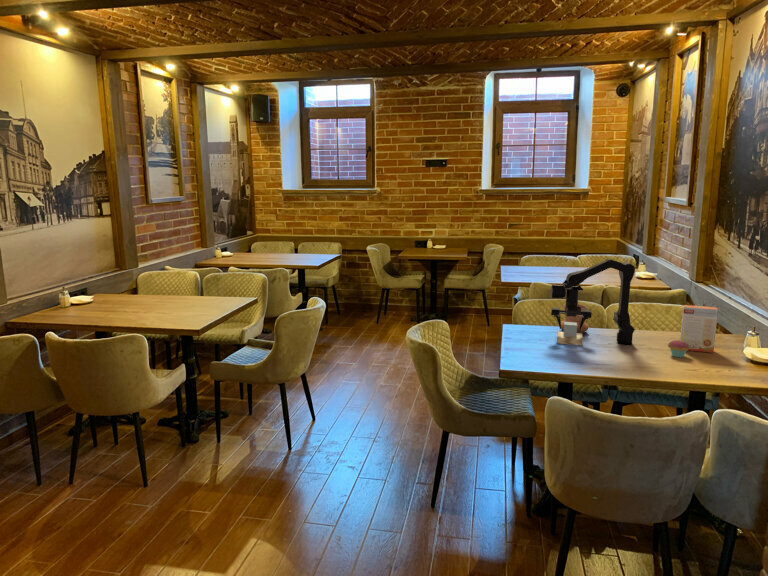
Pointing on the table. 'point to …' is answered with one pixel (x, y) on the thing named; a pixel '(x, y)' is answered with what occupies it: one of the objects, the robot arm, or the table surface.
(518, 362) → the table surface
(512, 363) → the table surface
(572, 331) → the gray cube
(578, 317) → the ceramic jug
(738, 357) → the table surface
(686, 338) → the cracker box
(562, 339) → the birch board
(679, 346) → the cupcake
